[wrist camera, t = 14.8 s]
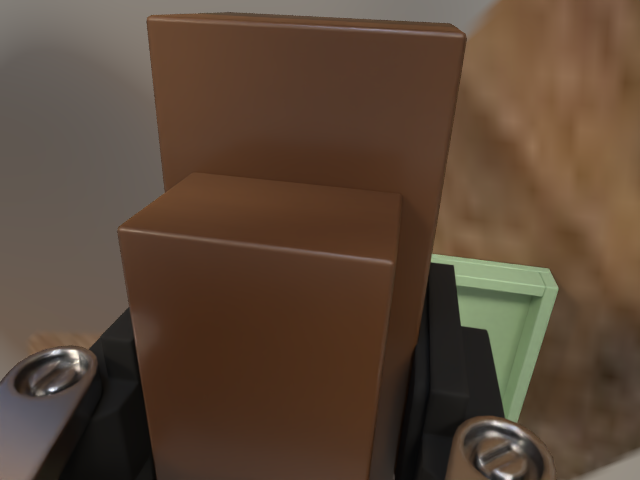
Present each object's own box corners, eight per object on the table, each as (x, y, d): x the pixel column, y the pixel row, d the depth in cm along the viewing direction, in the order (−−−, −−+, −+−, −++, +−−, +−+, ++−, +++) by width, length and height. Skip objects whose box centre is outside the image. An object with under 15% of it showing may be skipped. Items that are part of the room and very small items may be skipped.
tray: (549, 268, 25) (559, 288, 23) (488, 474, 31) (492, 502, 29) (157, 219, 28) (139, 233, 26) (178, 416, 34) (165, 438, 32)
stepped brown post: (453, 23, 8) (490, 44, 4) (383, 495, 13) (363, 734, 9) (227, 12, 9) (29, 18, 4) (245, 468, 14) (164, 679, 10)
